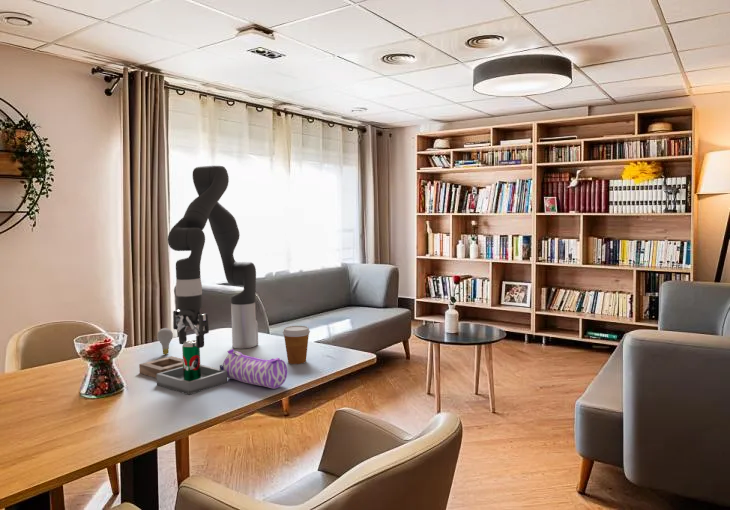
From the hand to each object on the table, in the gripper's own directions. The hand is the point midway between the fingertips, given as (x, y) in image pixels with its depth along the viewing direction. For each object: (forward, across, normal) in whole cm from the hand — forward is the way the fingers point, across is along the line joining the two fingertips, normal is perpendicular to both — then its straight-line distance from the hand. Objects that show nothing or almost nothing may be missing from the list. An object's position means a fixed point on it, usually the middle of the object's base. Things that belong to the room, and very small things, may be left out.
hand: (191, 345), depth 164 cm
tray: (+12, 0, 0) cm, 12 cm away
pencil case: (+12, -15, -11) cm, 23 cm away
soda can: (+11, 0, 0) cm, 11 cm away
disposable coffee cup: (+12, -10, -36) cm, 39 cm away
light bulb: (+12, +38, -16) cm, 43 cm away
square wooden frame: (+12, +18, -3) cm, 22 cm away
